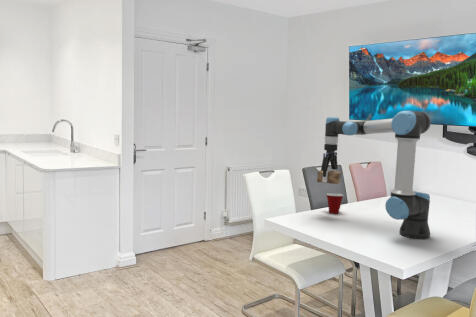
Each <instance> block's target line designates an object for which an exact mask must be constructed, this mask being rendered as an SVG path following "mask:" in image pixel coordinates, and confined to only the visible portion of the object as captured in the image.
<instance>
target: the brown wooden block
mask: <svg viewBox="0 0 476 317" xmlns="http://www.w3.org/2000/svg"><path fill="white" fill-rule="evenodd" d="M327 171H328V176H327V183H325V182H322V178H323V171H321V169H320V170H318V171H317V176H316V177H317V179H316V182H317V183H323V184H331V185H332V184H333V185H338V184H340V183H341V178H342V176H341V175H342V172H341V171H331V170H327Z"/></svg>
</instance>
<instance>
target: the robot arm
mask: <svg viewBox="0 0 476 317" xmlns="http://www.w3.org/2000/svg"><path fill="white" fill-rule="evenodd" d="M431 125H432V120H431V117H430V116H429V115H428V114H427V113H426V112H424V111H419V110H417V111H415V110H401V111H399V112H397V113H396V114H395V115H394V116H393V117H392V118H385V119H374V120H365V121H363V120H362V121H342V120H340V118H339V117H337V116H336V117H333V116H331V117H330V116H328V117H326V119H325V131H324V138H323V139H324V146H323V148H324V149H323V150H324V151H326V153H325V152H324V153H323V155H322V156H323V158H322V163H321V168H320V170H321V171H323V178H322V182H325V183H324V184H328V183H327V176H328V171H329V170H328V169H329V166H330V167H331V168H330V171H336V170H338V152H337V151H338V143H339V135H345V136H355V135H357V136H358V135H359V136H364V135H372V134H373V135H374V134H375V135H376V134H386V133H394V138H395V139H396V142H397V148H396V161H395V162H396V163H395V164H396V165H395V173H394V174H395V176H394V188H393V189H392V190H391V191H390V197H389V198H388V199H386V202H385V211H386V212H387V215H388V216H389V217H390V218H392V219H393V220H398V221H399V220H400V221H401V220H402V223H401V225H400V226H399V230H398V232H399V235H401V236H403V237H406V238H410V239H417V240H428V239H430V238H431V230H430V226H429V213H430V211H429V210H430V205H431V204H430V202H431V200H430V198H431V197H430V194H428V193H426V192H422V191H421V192H420V191H416V190H415V191H414V189H413V187H414V178H415V176H414V175H415V174H414V173H415V163H416V151H417V150H416V149H417V142H419V140H420V139H421V135H422V134H424V133H426V132H427V131H429V129H430V128H431Z"/></svg>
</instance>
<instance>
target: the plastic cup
mask: <svg viewBox="0 0 476 317" xmlns="http://www.w3.org/2000/svg"><path fill="white" fill-rule="evenodd" d="M326 198H327V207H328V212H329V214H334V215H338V214H339V212H340V209H341V204H342V201H343V198H344V194H341V193H332V192H331V193H326Z"/></svg>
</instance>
